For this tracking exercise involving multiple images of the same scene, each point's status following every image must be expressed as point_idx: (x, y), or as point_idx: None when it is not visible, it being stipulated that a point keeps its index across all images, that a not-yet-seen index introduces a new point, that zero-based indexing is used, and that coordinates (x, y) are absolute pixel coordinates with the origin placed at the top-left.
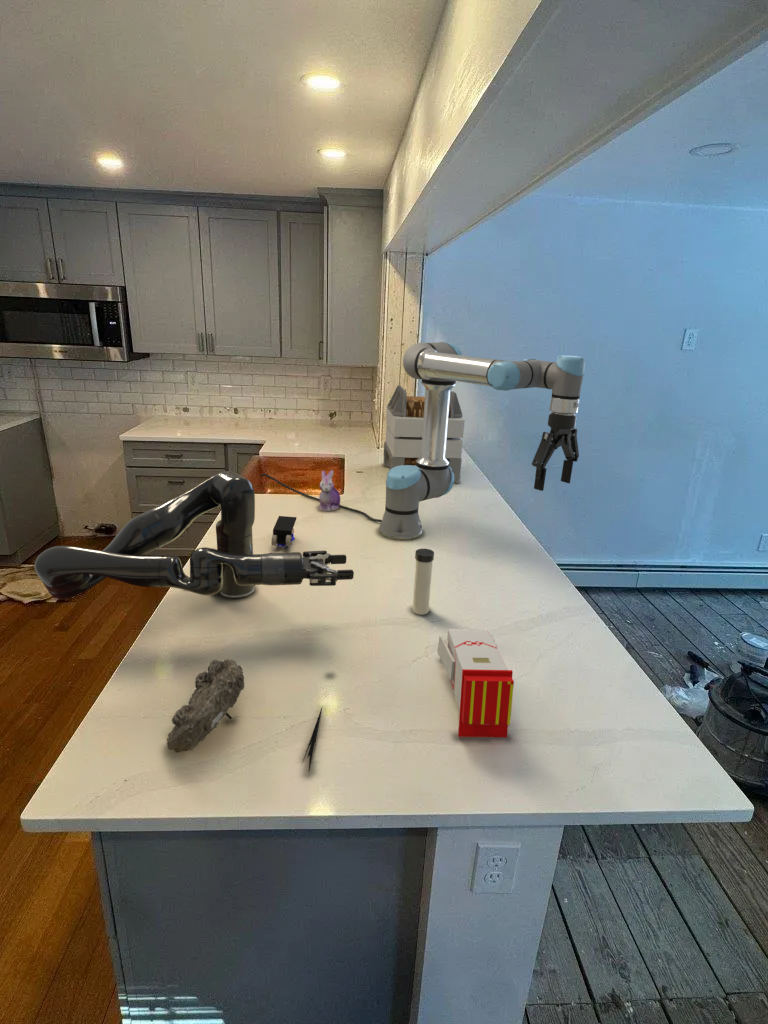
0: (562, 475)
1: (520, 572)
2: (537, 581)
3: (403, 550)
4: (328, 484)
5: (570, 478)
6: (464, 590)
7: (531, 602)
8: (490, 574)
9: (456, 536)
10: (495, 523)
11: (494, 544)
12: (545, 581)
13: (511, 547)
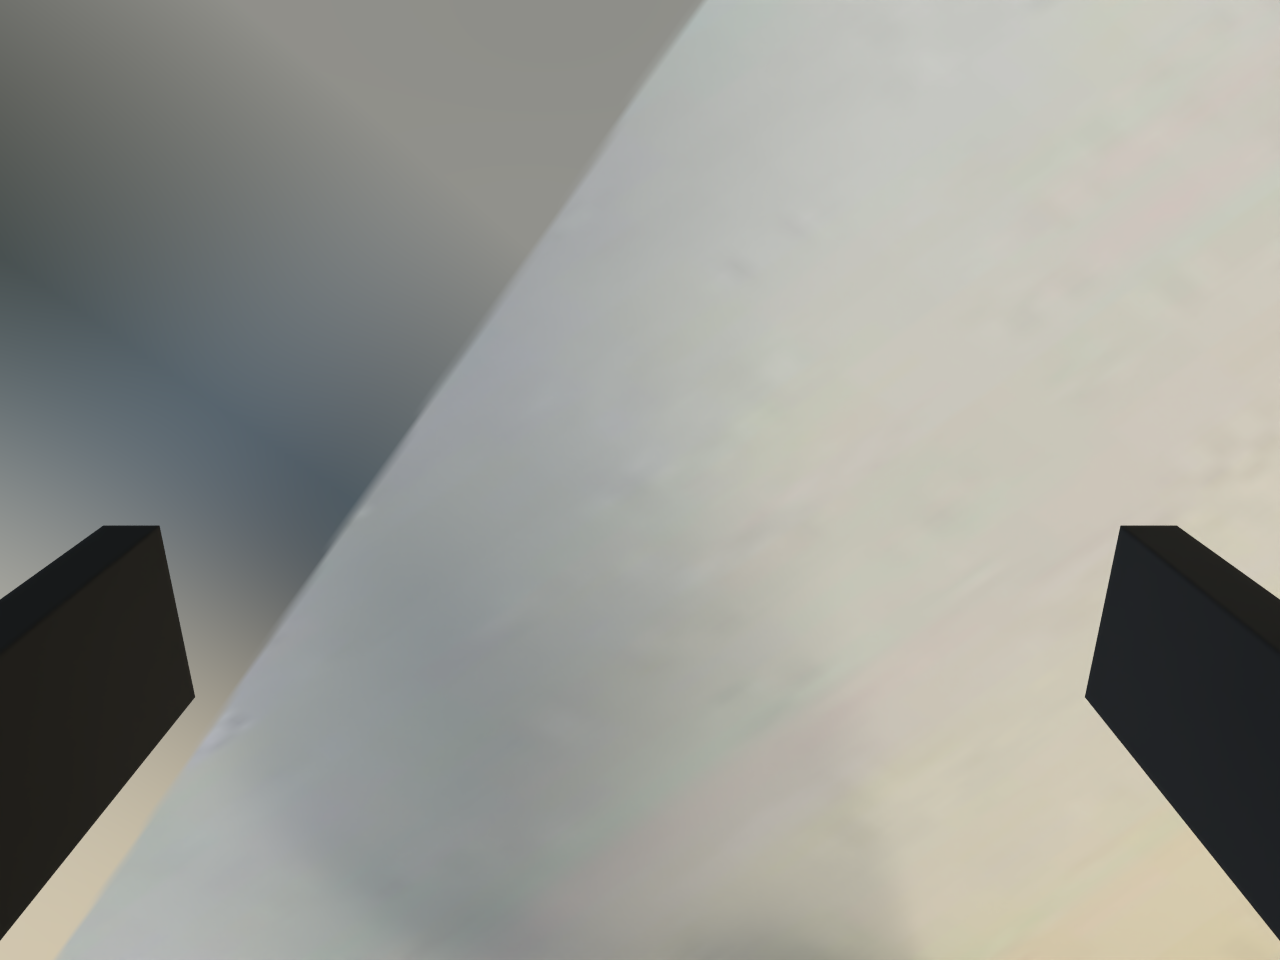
0: (122, 761)
1: (747, 372)
2: (775, 212)
3: (1040, 935)
4: None
5: (44, 573)
6: (1254, 421)
7: (1100, 34)
8: (932, 469)
9: (629, 911)
10: (243, 916)
11: (522, 727)
12: (728, 176)
13: (462, 643)
